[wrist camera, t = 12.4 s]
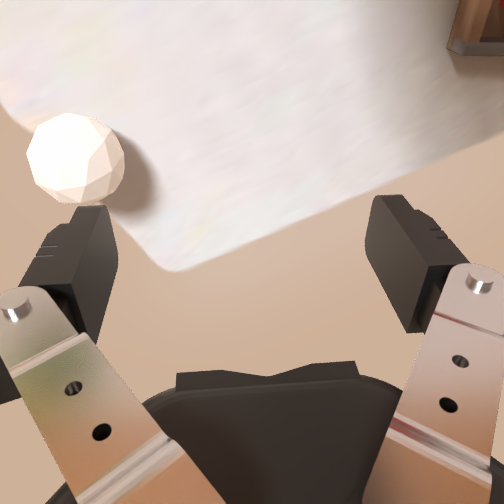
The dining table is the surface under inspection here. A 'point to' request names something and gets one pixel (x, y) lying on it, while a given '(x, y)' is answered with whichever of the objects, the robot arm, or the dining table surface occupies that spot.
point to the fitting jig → (478, 28)
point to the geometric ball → (76, 159)
